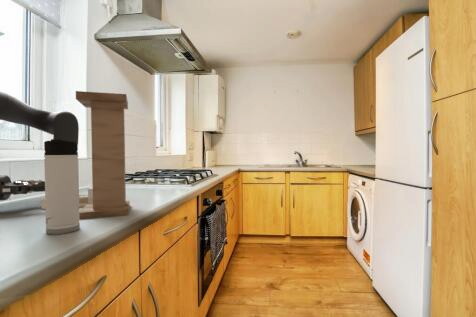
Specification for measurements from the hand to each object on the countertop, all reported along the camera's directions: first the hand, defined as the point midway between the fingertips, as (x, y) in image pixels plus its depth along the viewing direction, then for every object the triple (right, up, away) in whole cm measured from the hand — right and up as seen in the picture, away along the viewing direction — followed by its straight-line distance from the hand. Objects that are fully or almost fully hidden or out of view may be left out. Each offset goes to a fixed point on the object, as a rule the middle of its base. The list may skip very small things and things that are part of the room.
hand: (52, 185), depth 86 cm
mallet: (+7, -7, +3) cm, 10 cm away
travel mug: (+20, -8, -26) cm, 33 cm away
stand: (+20, -7, -6) cm, 22 cm away
